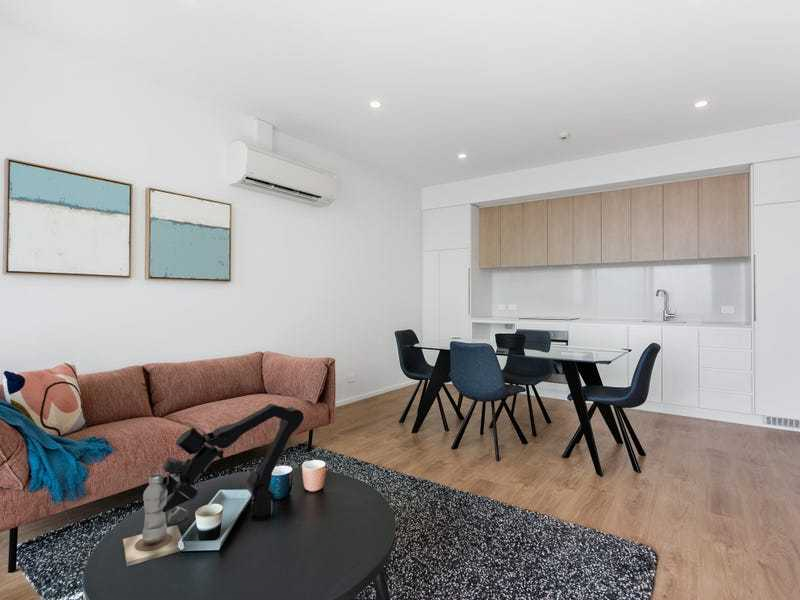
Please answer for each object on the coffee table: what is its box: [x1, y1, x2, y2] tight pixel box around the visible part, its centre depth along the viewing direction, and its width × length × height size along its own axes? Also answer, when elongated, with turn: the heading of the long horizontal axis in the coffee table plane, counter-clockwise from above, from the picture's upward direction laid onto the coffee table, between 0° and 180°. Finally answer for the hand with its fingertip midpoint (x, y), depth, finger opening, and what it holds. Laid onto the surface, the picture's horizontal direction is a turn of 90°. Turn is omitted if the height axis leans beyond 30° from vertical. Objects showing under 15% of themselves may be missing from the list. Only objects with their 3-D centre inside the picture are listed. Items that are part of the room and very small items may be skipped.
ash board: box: [122, 524, 183, 567], centre depth 130 cm, size 15×15×1 cm
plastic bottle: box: [141, 472, 168, 544], centre depth 130 cm, size 6×7×20 cm
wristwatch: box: [167, 506, 188, 525], centre depth 145 cm, size 4×6×5 cm, turn 138°
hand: (160, 505), depth 131 cm, fingers open, 9 cm apart
